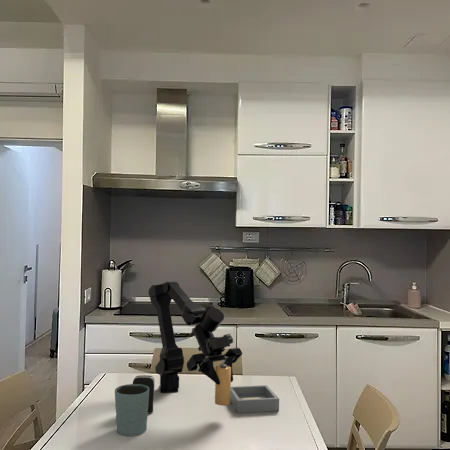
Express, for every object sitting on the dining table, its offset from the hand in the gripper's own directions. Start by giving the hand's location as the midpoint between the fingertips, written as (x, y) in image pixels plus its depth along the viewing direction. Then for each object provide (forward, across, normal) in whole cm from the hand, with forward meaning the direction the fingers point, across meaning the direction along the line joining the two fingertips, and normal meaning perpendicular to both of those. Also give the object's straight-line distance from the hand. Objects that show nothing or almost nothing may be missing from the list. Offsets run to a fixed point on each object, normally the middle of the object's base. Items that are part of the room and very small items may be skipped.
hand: (225, 382), depth 149 cm
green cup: (+2, -27, +15) cm, 31 cm away
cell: (+4, 0, +6) cm, 7 cm away
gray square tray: (+4, +16, +12) cm, 21 cm away
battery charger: (-6, -18, +23) cm, 30 cm away
